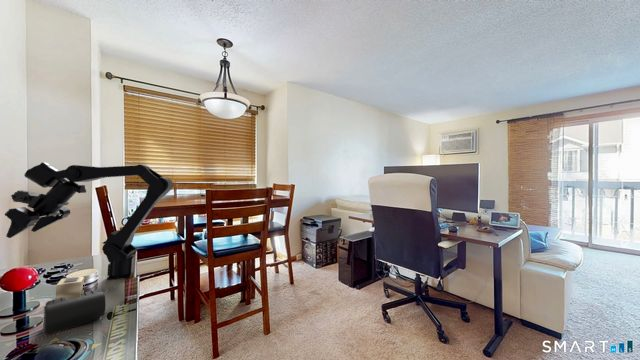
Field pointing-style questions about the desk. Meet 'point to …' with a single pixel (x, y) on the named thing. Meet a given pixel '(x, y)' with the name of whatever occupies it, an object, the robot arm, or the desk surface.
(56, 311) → the end cap
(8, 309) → the desk surface
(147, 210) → the robot arm
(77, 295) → the beech block
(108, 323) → the desk surface
